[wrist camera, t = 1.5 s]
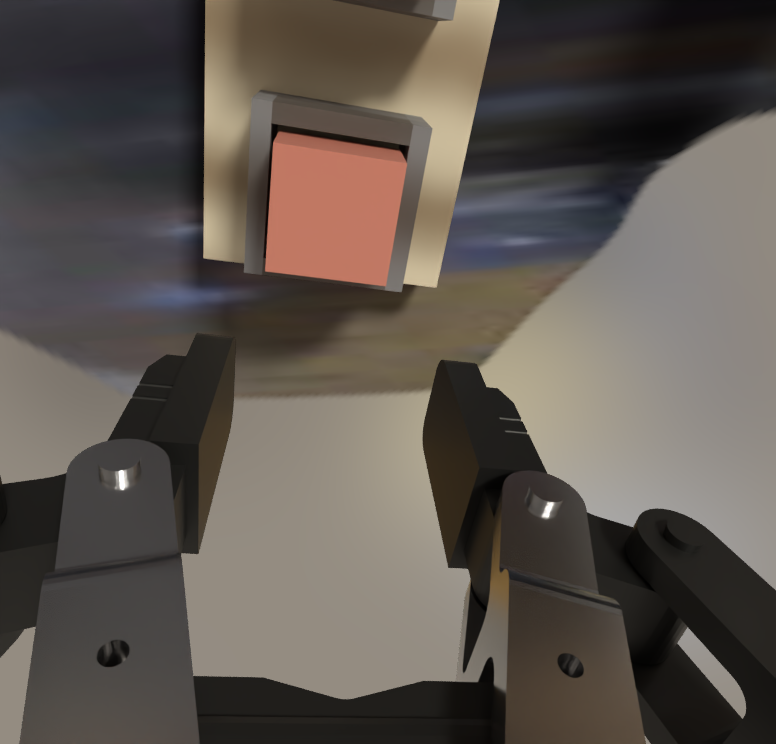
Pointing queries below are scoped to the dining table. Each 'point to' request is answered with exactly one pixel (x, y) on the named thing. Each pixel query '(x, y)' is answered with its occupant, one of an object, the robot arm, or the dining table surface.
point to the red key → (333, 208)
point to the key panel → (340, 110)
